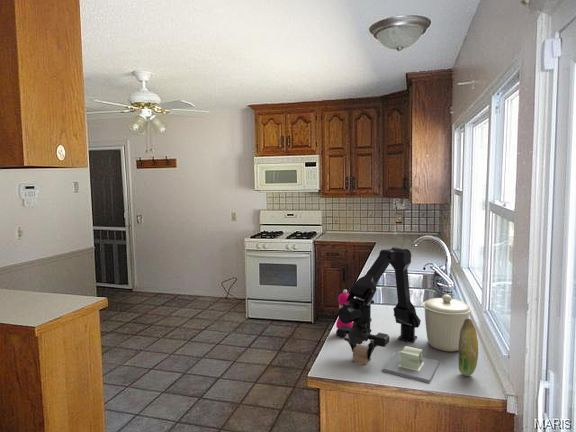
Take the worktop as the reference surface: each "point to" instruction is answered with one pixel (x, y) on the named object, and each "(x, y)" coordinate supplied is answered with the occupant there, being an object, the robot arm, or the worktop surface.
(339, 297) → the pepper mill
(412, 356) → the green block
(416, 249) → the worktop surface
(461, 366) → the vegetable
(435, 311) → the canister
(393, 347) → the worktop surface
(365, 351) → the walnut block
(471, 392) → the worktop surface
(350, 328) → the robot arm
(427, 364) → the build board
